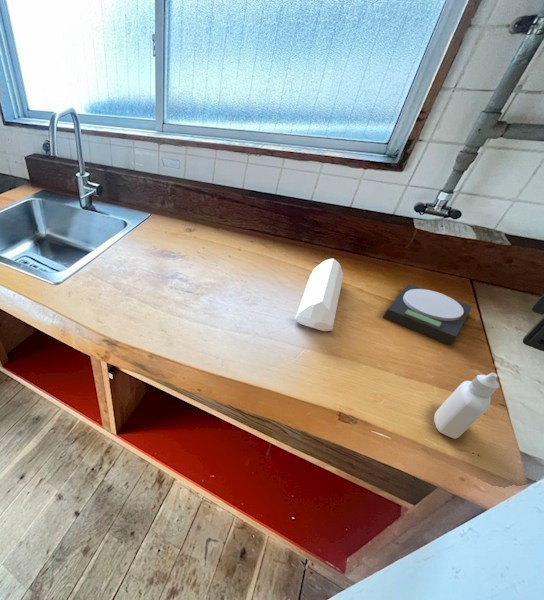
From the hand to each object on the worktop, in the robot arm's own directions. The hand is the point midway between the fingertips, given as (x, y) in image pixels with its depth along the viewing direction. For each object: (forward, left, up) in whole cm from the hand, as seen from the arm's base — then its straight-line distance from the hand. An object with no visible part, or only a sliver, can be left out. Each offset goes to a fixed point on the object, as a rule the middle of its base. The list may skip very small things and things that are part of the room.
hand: (538, 328), depth 39 cm
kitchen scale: (+10, -28, -20) cm, 36 cm away
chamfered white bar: (+28, -16, -21) cm, 38 cm away
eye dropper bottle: (0, 0, -21) cm, 21 cm away
